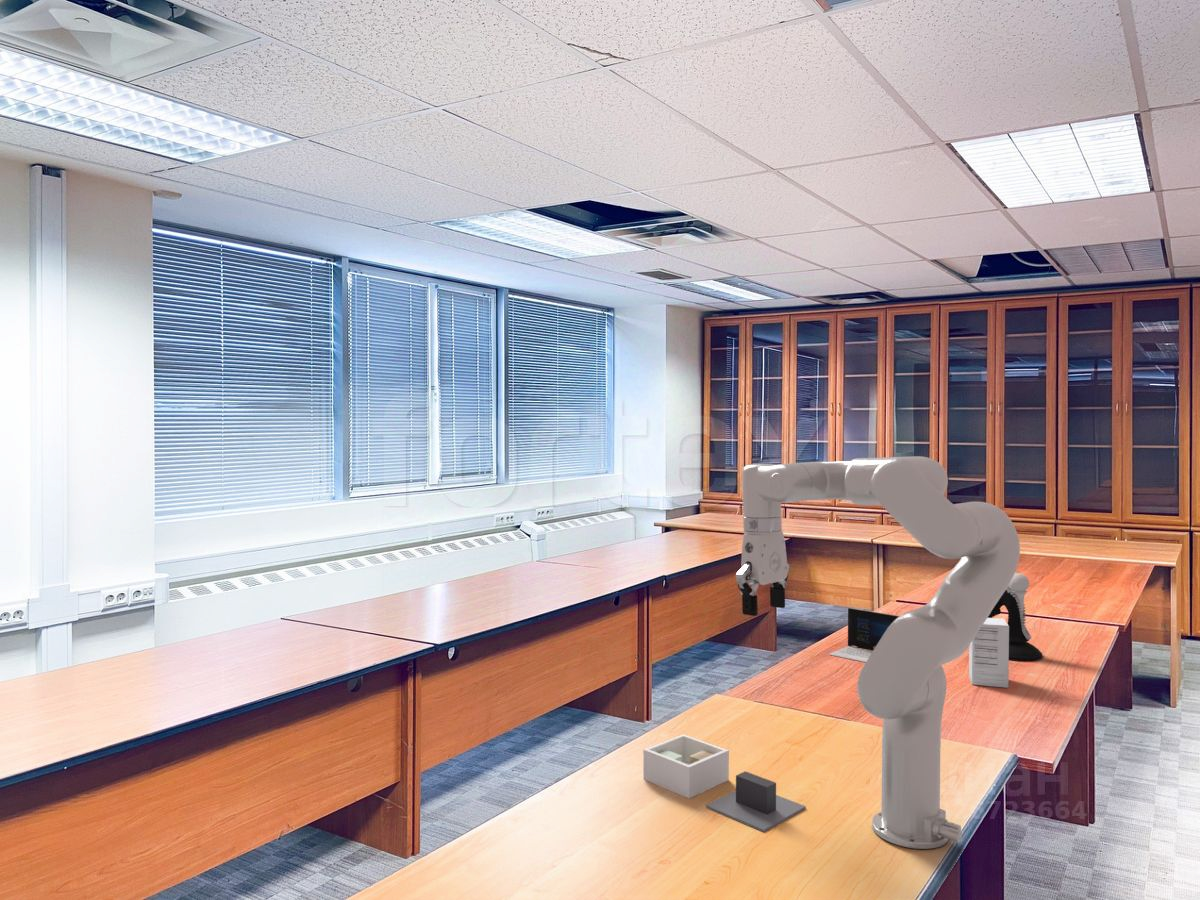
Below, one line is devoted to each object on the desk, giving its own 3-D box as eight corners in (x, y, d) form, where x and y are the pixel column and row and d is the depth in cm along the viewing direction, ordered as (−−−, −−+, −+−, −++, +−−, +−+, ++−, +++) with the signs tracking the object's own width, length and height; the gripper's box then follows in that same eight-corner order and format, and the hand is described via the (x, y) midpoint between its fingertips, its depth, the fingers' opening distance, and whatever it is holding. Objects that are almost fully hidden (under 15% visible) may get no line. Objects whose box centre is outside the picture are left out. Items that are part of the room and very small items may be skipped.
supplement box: (1009, 688, 226) (1010, 626, 225) (971, 685, 229) (972, 623, 228) (1004, 678, 235) (1005, 618, 234) (968, 675, 238) (969, 615, 237)
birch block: (718, 776, 169) (718, 756, 168) (705, 781, 166) (705, 761, 166) (702, 770, 172) (702, 750, 171) (689, 775, 169) (689, 755, 169)
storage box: (728, 780, 169) (728, 750, 168) (689, 798, 160) (689, 767, 160) (683, 762, 177) (683, 734, 177) (643, 779, 169) (643, 749, 169)
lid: (805, 811, 156) (805, 779, 156) (763, 835, 147) (763, 801, 147) (748, 789, 166) (748, 759, 165) (705, 810, 157) (705, 778, 157)
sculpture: (1034, 664, 248) (1035, 579, 247) (951, 650, 263) (952, 570, 262) (1047, 653, 259) (1049, 572, 258) (967, 640, 275) (968, 564, 274)
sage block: (682, 775, 169) (682, 755, 169) (669, 781, 166) (669, 761, 166) (667, 769, 172) (667, 750, 172) (654, 775, 169) (654, 755, 169)
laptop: (828, 656, 258) (828, 614, 258) (847, 648, 267) (848, 607, 267) (884, 668, 246) (885, 623, 246) (903, 659, 255) (903, 616, 255)
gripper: (753, 530, 160) (755, 620, 161) (802, 523, 173) (803, 606, 173) (721, 528, 166) (723, 615, 166) (770, 521, 178) (772, 602, 178)
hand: (764, 610), depth 169 cm, fingers open, 9 cm apart
